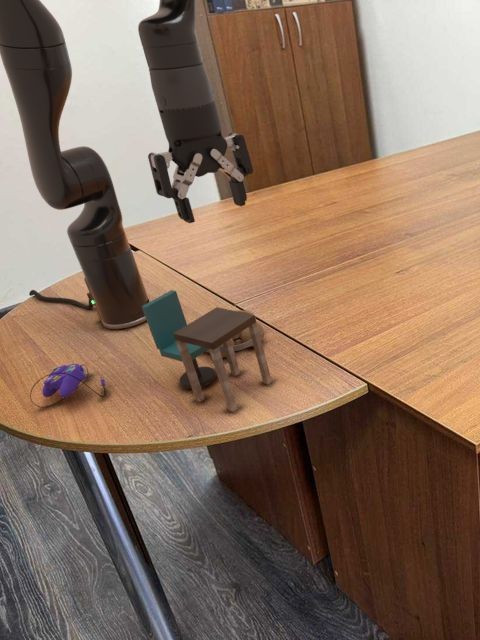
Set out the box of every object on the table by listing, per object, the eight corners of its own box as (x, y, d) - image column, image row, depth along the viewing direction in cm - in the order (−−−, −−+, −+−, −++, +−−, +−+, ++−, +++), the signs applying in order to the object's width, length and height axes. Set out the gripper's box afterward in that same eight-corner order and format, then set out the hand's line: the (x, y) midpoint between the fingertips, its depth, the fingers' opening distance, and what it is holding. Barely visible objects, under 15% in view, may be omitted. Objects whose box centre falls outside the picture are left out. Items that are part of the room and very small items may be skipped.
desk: (196, 401, 104) (172, 333, 97) (236, 371, 111) (216, 306, 104) (233, 412, 101) (211, 343, 94) (272, 381, 107) (254, 315, 101)
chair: (169, 384, 108) (141, 306, 100) (197, 366, 112) (171, 289, 105) (198, 393, 105) (170, 313, 98) (224, 373, 110) (201, 295, 102)
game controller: (11, 388, 103) (63, 347, 109) (49, 424, 107) (97, 383, 114) (35, 388, 97) (89, 345, 103) (74, 427, 101) (124, 383, 107)
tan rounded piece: (242, 305, 126) (269, 319, 114) (249, 328, 128) (277, 344, 116) (183, 324, 120) (206, 342, 109) (192, 348, 122) (215, 368, 110)
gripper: (217, 89, 96) (242, 195, 105) (122, 107, 88) (158, 222, 96) (245, 93, 92) (269, 204, 101) (148, 113, 83) (183, 233, 92)
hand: (215, 213), depth 98 cm, fingers open, 8 cm apart
